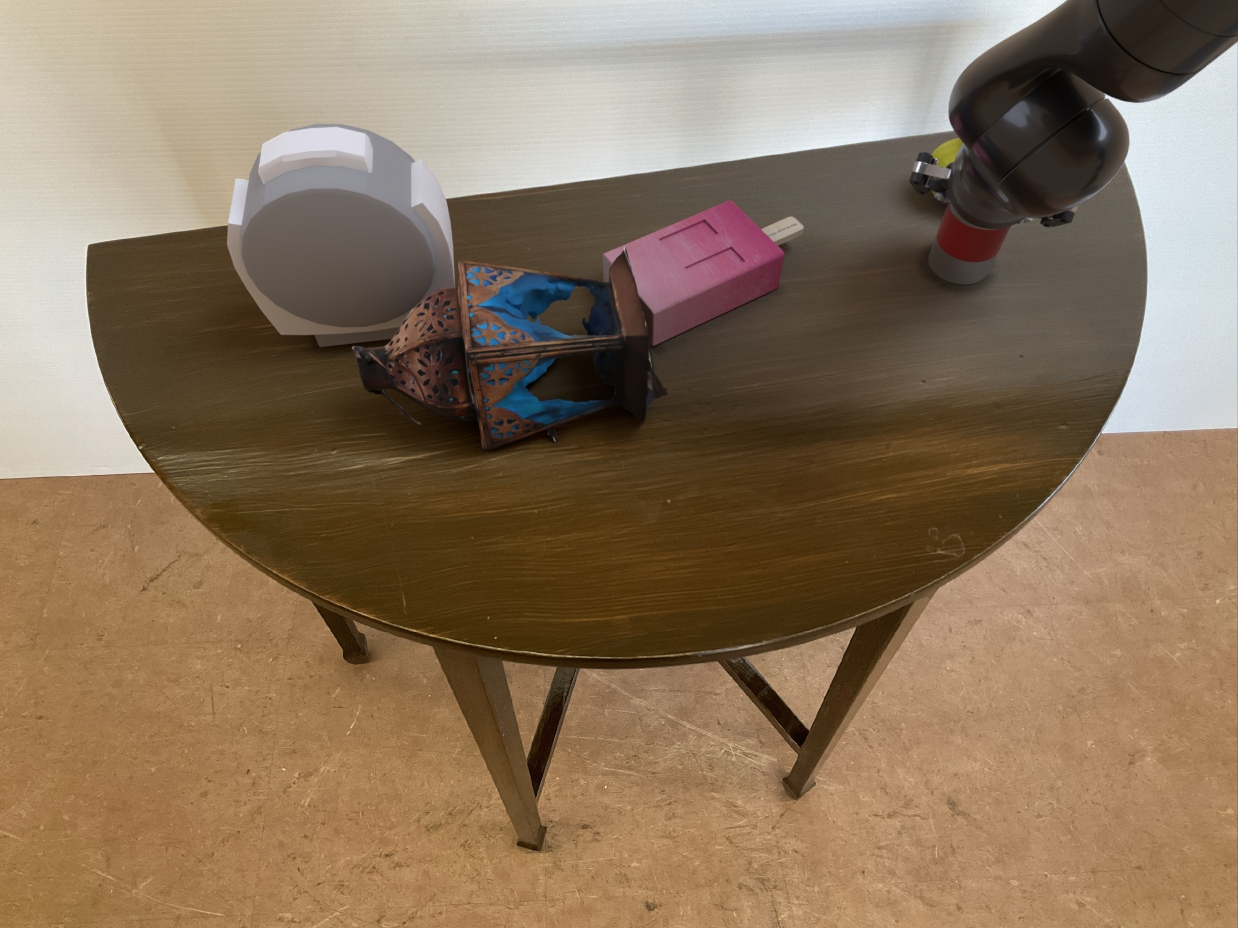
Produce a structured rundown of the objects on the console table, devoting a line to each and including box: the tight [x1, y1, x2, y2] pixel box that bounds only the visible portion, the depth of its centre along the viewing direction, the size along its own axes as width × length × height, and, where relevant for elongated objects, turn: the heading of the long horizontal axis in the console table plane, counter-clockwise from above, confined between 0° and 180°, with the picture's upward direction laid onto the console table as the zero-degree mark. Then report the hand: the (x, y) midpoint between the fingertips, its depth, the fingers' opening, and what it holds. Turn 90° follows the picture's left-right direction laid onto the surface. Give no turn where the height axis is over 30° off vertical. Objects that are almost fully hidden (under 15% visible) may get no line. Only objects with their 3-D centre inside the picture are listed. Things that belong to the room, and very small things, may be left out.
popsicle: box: [602, 199, 805, 347], centre depth 83 cm, size 9×5×20 cm
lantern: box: [351, 247, 669, 452], centre depth 73 cm, size 16×16×25 cm
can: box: [927, 203, 1012, 286], centre depth 82 cm, size 6×6×10 cm
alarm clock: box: [226, 123, 456, 348], centre depth 75 cm, size 18×8×20 cm, turn 98°
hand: (982, 202), depth 82 cm, fingers closed on can, 6 cm apart
